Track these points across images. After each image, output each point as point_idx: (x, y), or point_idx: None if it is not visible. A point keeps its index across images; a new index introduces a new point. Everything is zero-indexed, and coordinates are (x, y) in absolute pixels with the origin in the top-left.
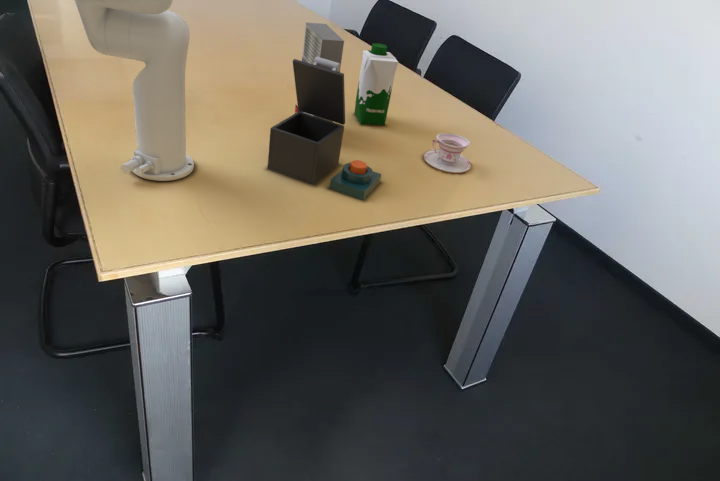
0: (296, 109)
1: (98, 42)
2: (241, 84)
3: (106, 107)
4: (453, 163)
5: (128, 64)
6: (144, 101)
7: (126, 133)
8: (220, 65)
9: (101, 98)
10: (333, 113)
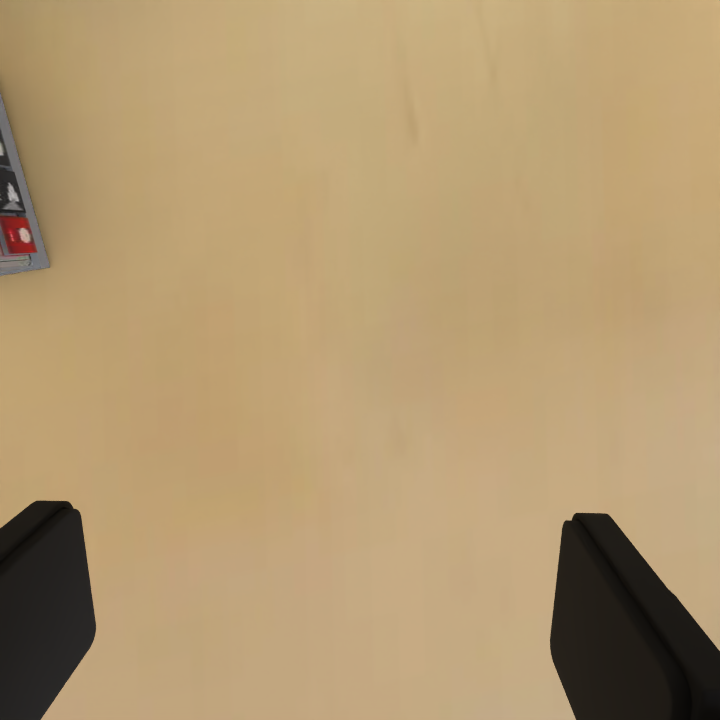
0: (14, 236)
1: None
2: (235, 539)
3: (660, 259)
4: None
5: None
6: None
7: (593, 51)
8: (308, 688)
9: (677, 332)
10: None
